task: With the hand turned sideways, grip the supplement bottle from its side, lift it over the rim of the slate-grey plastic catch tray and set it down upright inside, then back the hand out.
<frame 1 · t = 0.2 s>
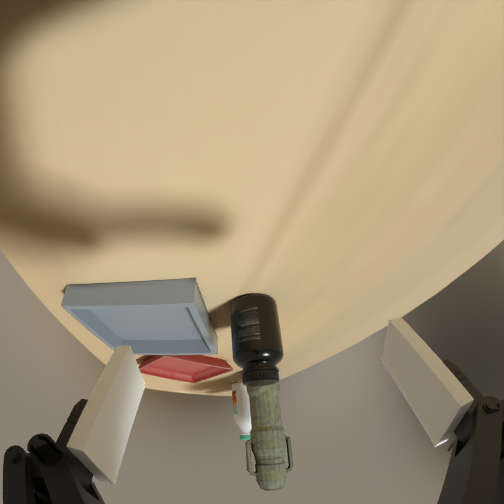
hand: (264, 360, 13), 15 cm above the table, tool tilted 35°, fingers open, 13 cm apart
catch tray: (147, 315, 42), on the table
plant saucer: (182, 359, 63), on the table
milk bottle: (243, 382, 86), on the table
supplement bottle: (253, 302, 41), on the table
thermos: (261, 368, 72), on the table
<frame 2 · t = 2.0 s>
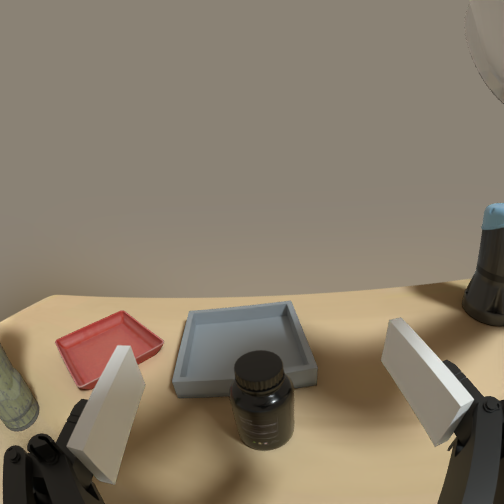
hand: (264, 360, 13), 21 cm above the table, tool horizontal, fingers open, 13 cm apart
catch tray: (243, 352, 45), on the table
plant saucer: (109, 356, 45), on the table
supplement bottle: (266, 432, 29), on the table
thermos: (21, 414, 27), on the table
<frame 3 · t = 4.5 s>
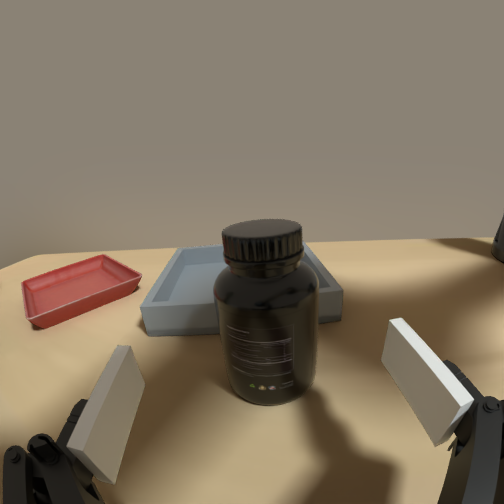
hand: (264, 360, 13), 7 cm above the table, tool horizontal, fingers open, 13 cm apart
catch tray: (241, 289, 36), on the table
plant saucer: (77, 299, 37), on the table
supplement bottle: (271, 379, 20), on the table
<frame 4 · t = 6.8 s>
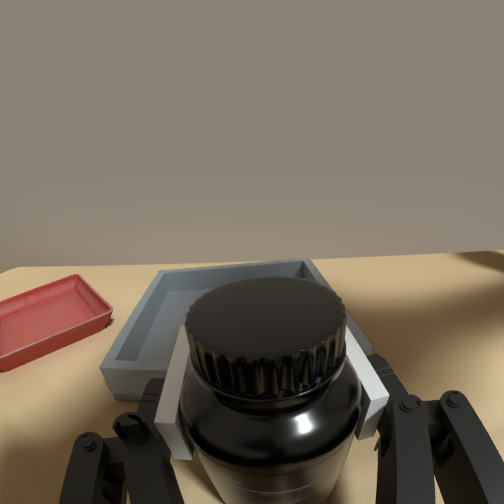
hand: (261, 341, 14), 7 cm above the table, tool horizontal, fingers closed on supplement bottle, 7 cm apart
catch tray: (236, 329, 28), on the table
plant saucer: (45, 331, 28), on the table
supplement bottle: (275, 480, 12), on the table, touching gripper
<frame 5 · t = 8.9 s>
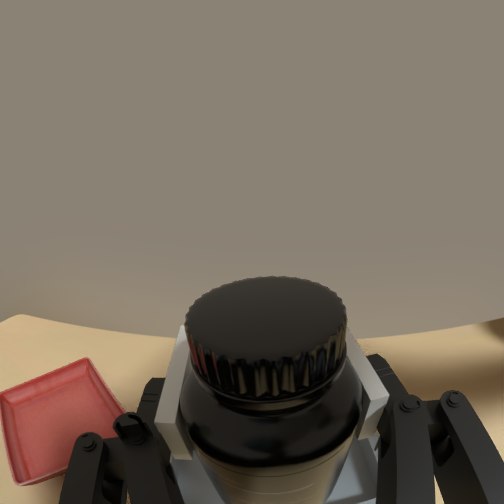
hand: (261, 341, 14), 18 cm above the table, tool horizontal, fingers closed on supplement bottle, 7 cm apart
catch tray: (270, 453, 23), on the table
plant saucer: (64, 429, 24), on the table
supplement bottle: (275, 480, 12), point 10 cm above the table, touching gripper
when the fingers open (9 cm above the table, at t = 11.4 s): supplement bottle drops 1 cm, resting on catch tray.
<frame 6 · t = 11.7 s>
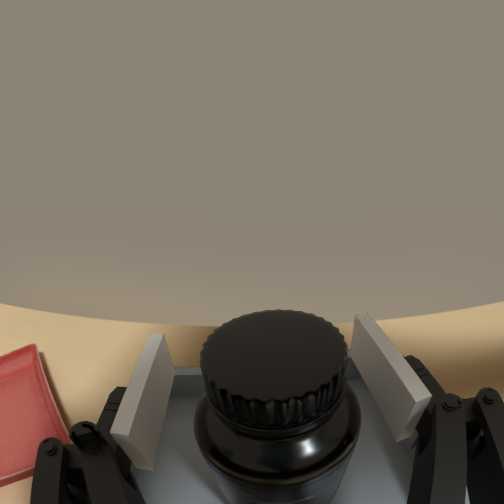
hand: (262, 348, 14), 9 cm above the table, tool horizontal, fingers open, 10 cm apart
catch tray: (275, 491, 12), on the table
supplement bottle: (280, 487, 12), point 1 cm above the table, touching catch tray
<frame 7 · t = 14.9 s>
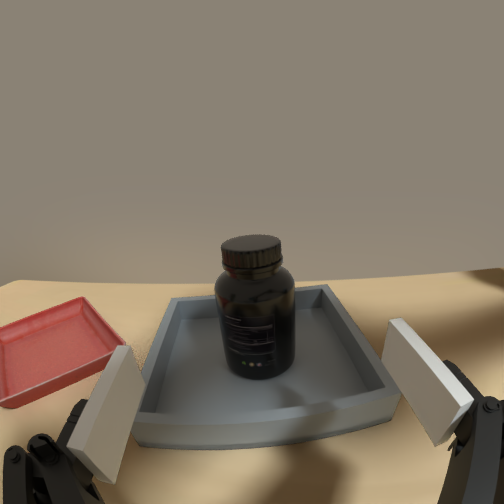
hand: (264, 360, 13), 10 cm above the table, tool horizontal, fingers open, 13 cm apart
catch tray: (257, 365, 26), on the table
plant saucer: (52, 360, 26), on the table
supplement bottle: (260, 361, 26), point 1 cm above the table, touching catch tray
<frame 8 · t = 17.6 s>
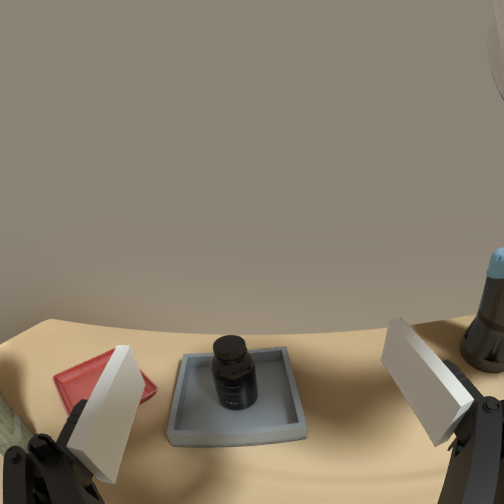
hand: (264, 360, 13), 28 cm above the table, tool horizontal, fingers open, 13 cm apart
catch tray: (236, 400, 43), on the table
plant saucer: (105, 395, 43), on the table
supplement bottle: (238, 398, 43), point 1 cm above the table, touching catch tray
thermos: (24, 450, 25), on the table
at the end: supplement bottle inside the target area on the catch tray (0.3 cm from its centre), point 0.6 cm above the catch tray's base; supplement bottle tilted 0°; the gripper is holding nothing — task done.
